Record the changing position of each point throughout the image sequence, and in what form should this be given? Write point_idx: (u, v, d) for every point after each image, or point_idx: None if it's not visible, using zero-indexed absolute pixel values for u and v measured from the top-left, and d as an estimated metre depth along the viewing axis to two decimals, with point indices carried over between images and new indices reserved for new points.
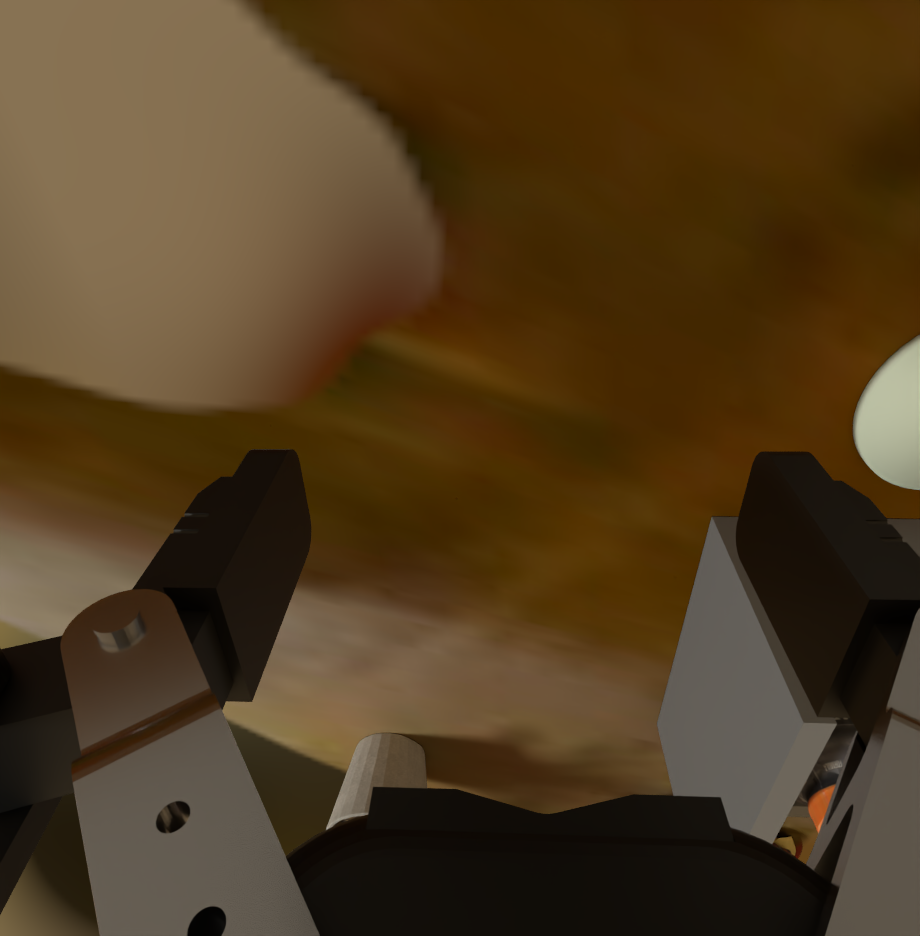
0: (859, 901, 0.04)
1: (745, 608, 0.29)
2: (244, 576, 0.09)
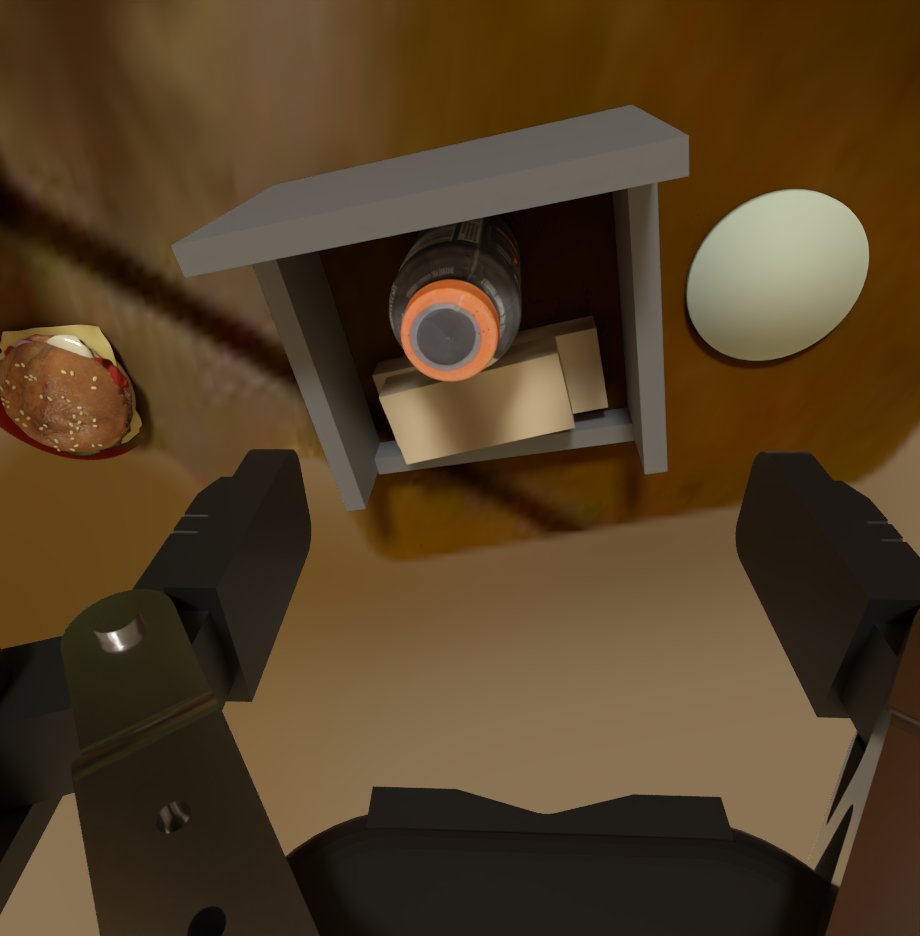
0: (860, 902, 0.04)
1: (638, 120, 0.25)
2: (244, 576, 0.09)
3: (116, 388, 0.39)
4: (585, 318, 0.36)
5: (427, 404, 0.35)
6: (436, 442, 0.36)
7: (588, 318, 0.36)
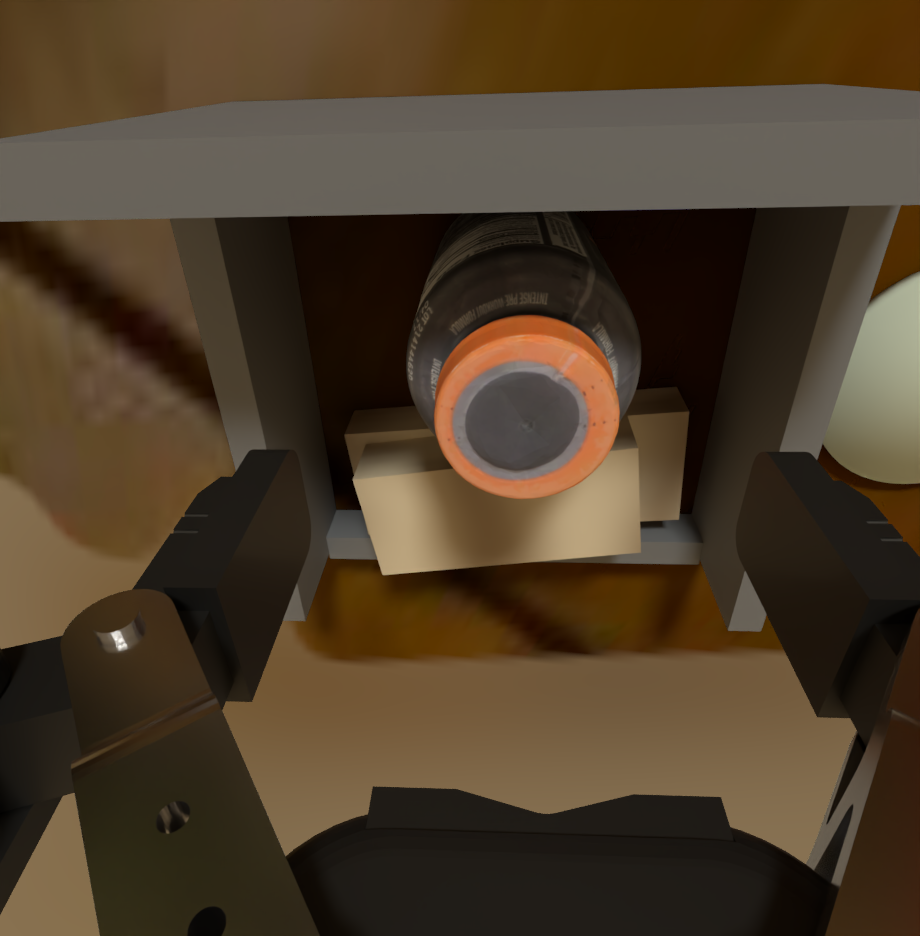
0: (857, 901, 0.04)
1: (906, 93, 0.14)
2: (244, 576, 0.09)
3: None
4: (667, 392, 0.25)
5: (426, 497, 0.23)
6: (431, 551, 0.24)
7: (671, 392, 0.25)
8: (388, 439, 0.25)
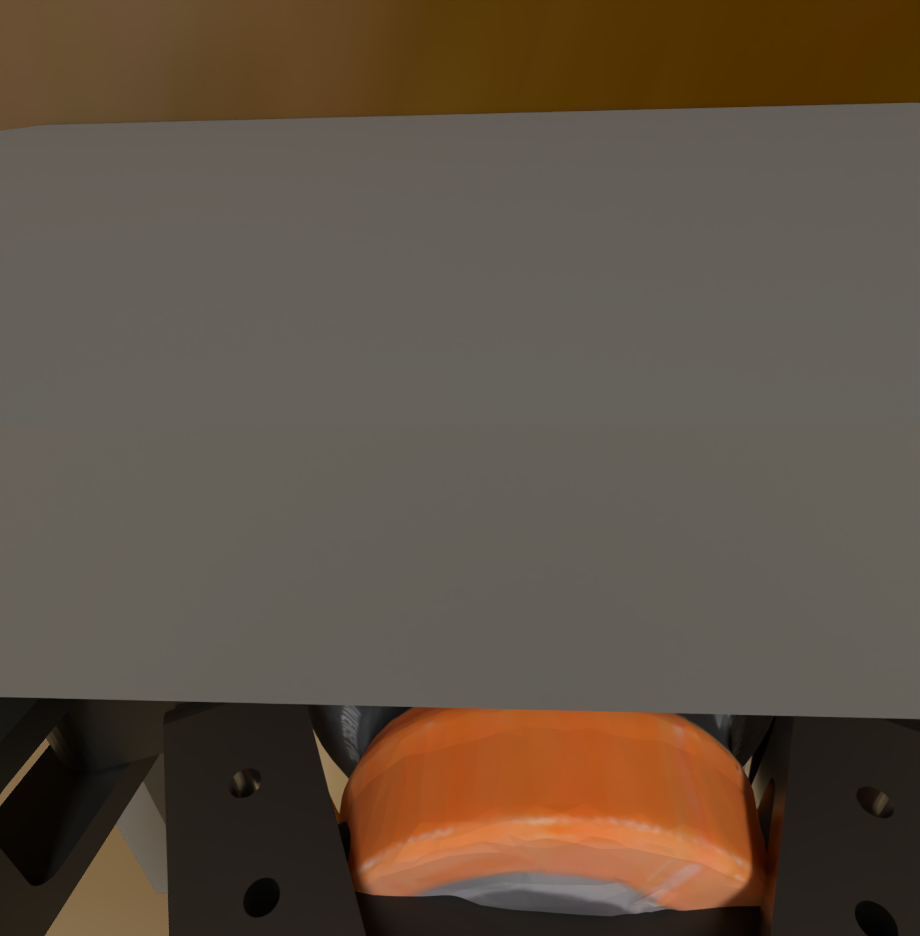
0: (795, 881, 0.04)
1: None
2: None
3: None
4: None
5: None
6: None
7: None
8: None
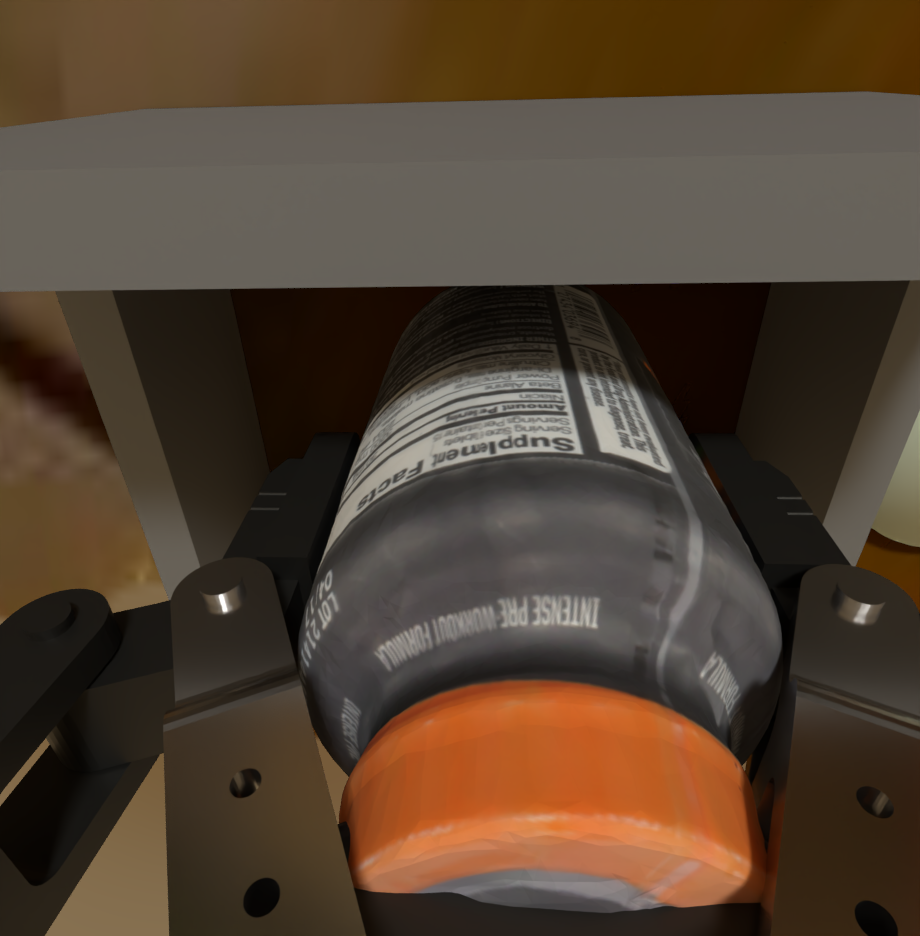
0: (795, 881, 0.04)
1: None
2: None
3: None
4: None
5: None
6: None
7: None
8: None
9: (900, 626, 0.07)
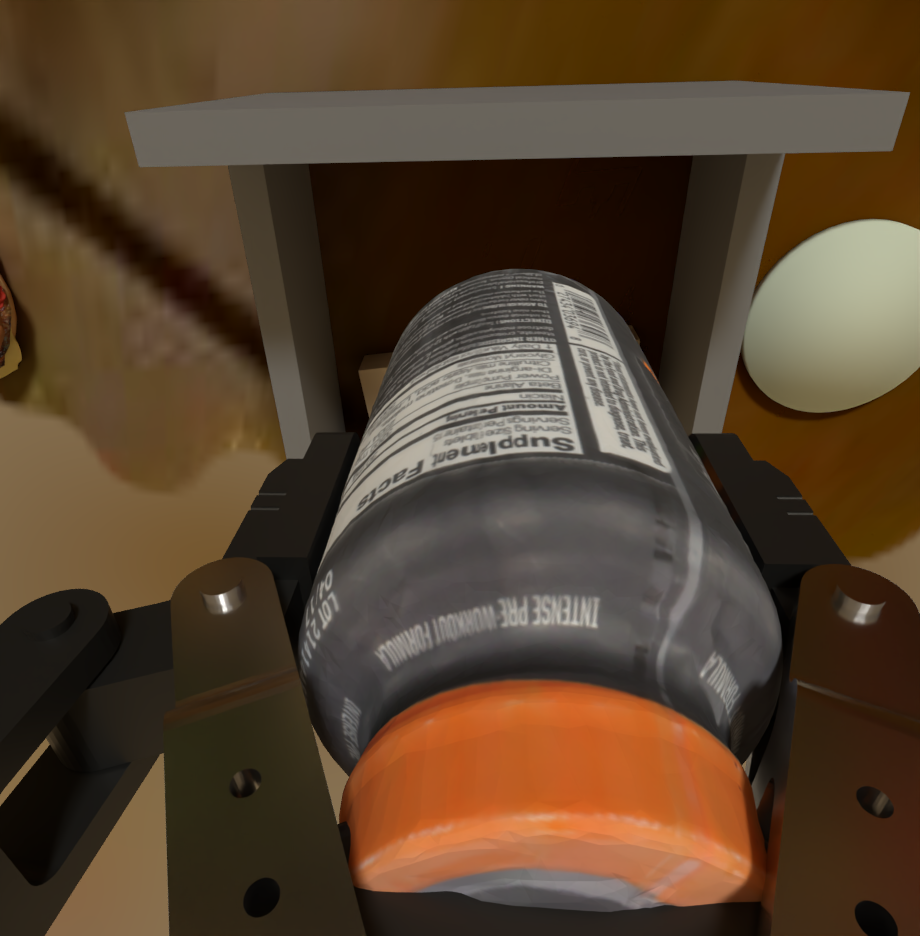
0: (795, 881, 0.04)
1: (779, 85, 0.20)
2: (324, 549, 0.09)
3: None
4: None
5: None
6: None
7: None
8: None
9: (900, 626, 0.07)
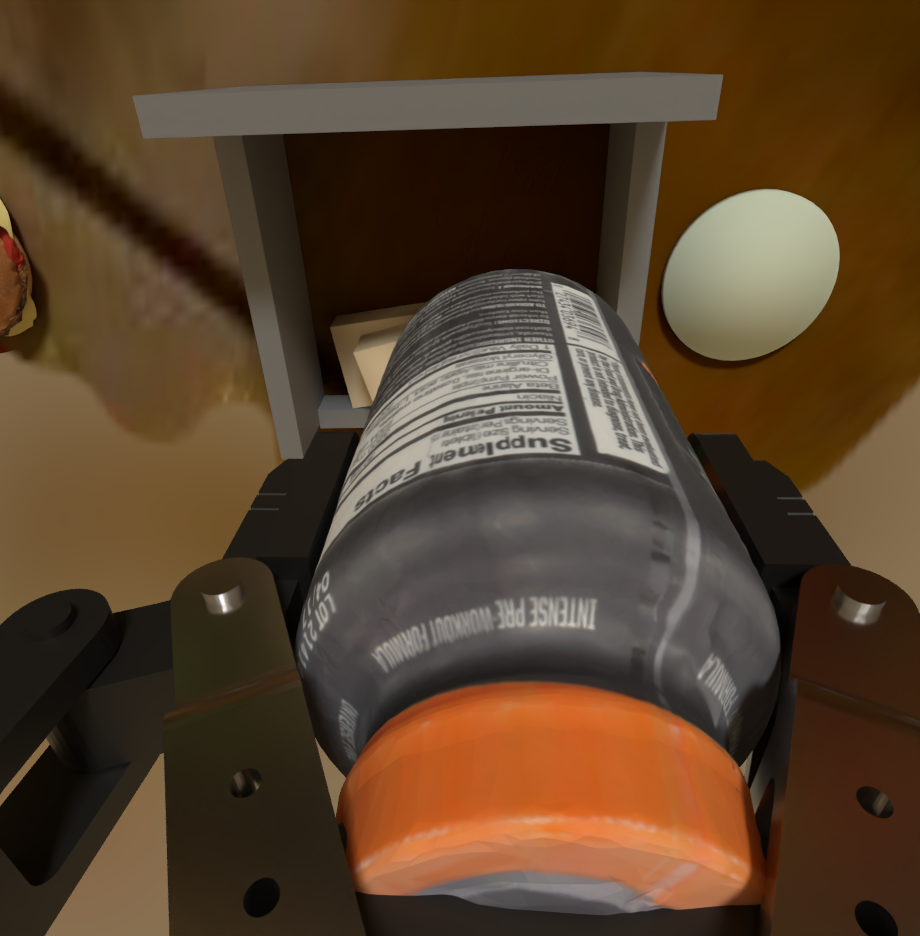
0: (797, 880, 0.04)
1: (656, 73, 0.24)
2: None
3: (9, 263, 0.33)
4: None
5: None
6: None
7: None
8: (361, 328, 0.35)
9: (900, 626, 0.07)
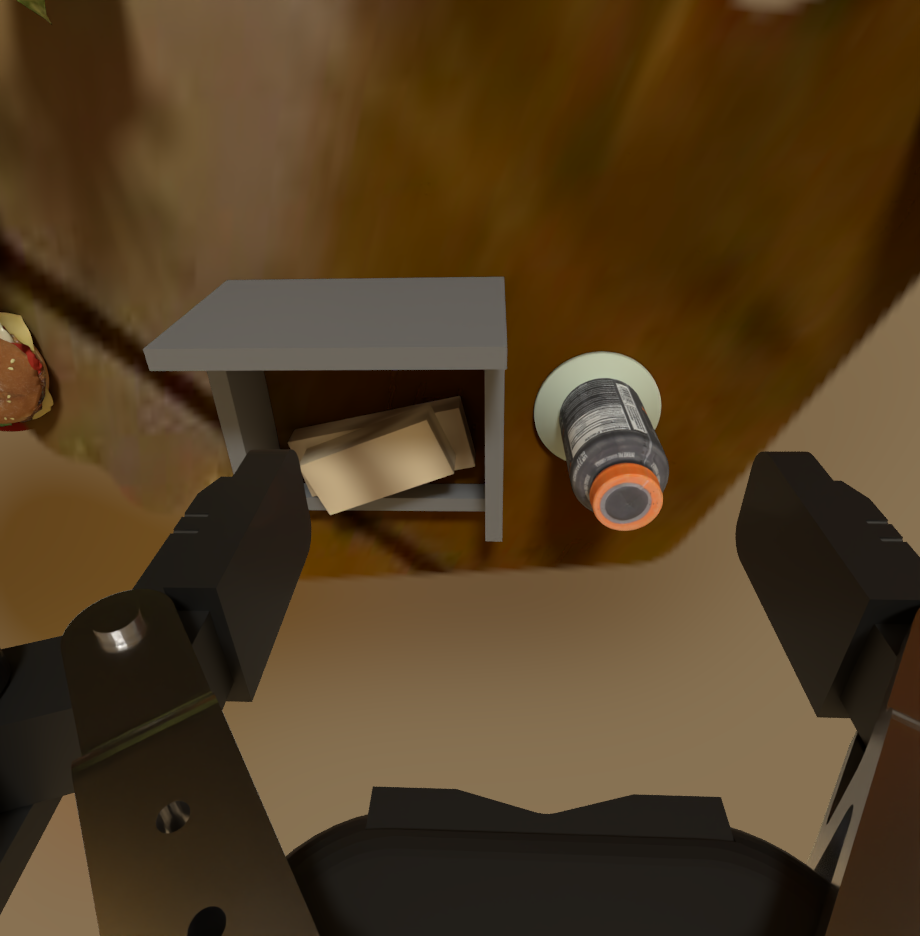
0: (860, 902, 0.04)
1: (494, 306, 0.36)
2: (244, 576, 0.09)
3: (31, 370, 0.44)
4: (454, 398, 0.46)
5: (336, 467, 0.45)
6: (349, 496, 0.46)
7: (455, 398, 0.46)
8: (310, 442, 0.46)
9: None
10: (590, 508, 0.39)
